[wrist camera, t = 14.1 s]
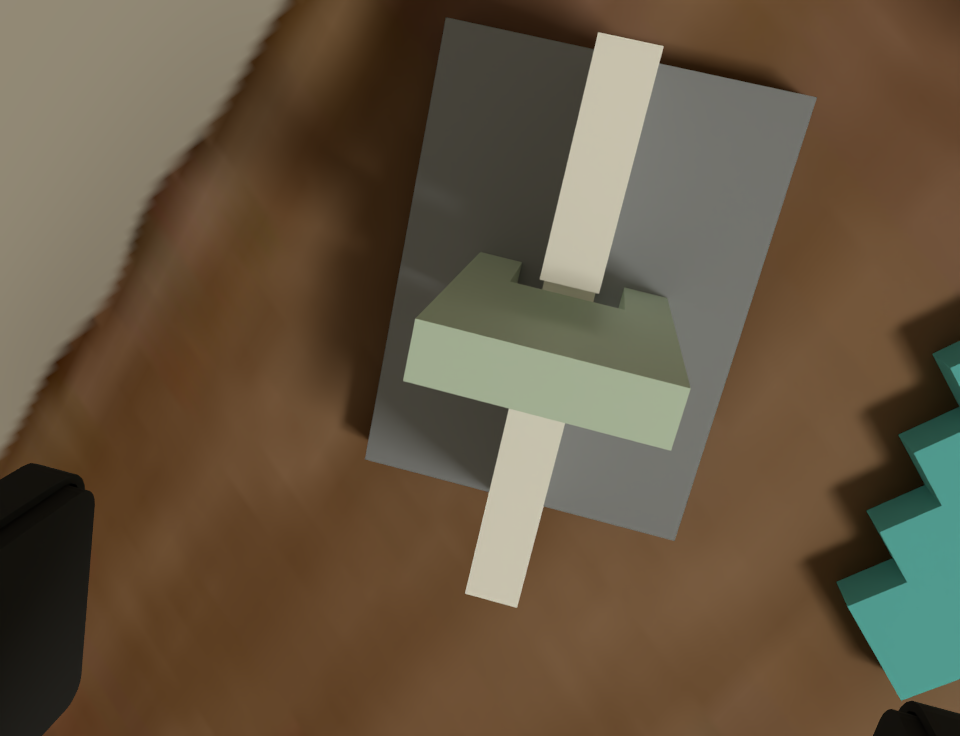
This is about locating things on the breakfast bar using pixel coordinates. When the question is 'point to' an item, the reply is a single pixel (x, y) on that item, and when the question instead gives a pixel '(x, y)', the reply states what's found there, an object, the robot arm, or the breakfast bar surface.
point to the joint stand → (581, 261)
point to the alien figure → (918, 560)
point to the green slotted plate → (553, 353)
